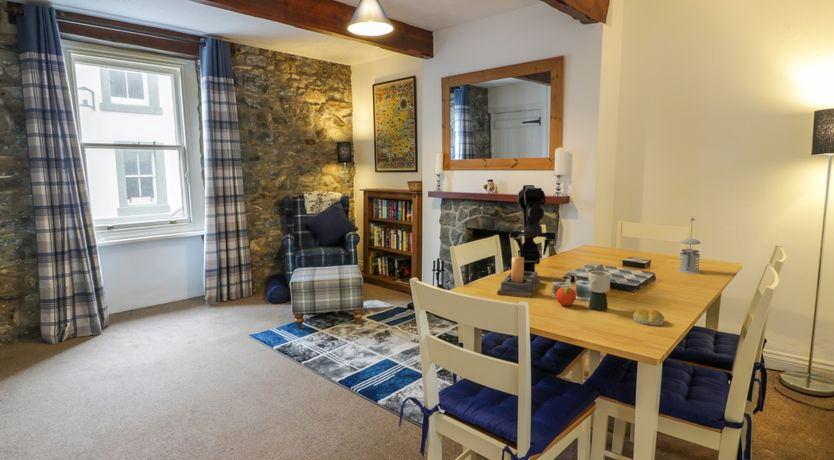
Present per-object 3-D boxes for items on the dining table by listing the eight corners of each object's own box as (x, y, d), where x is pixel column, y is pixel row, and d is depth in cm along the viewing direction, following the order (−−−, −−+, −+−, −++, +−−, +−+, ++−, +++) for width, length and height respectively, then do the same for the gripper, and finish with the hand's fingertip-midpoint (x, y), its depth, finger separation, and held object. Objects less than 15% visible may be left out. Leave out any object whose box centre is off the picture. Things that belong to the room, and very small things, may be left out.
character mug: (595, 303, 170) (596, 268, 168) (614, 307, 165) (616, 271, 163) (581, 310, 163) (582, 274, 161) (601, 314, 158) (602, 277, 156)
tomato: (575, 309, 163) (576, 290, 162) (555, 308, 166) (555, 288, 165) (576, 303, 171) (576, 284, 170) (556, 301, 173) (556, 283, 172)
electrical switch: (601, 290, 187) (599, 268, 186) (588, 290, 190) (586, 267, 189) (608, 285, 194) (607, 264, 193) (595, 285, 197) (594, 263, 196)
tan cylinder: (515, 285, 191) (515, 256, 189) (525, 288, 187) (526, 257, 186) (508, 288, 187) (509, 257, 185) (519, 290, 184) (519, 259, 182)
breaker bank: (510, 279, 207) (510, 267, 206) (540, 282, 202) (540, 269, 201) (497, 294, 184) (497, 281, 183) (530, 297, 179) (530, 283, 178)
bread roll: (634, 316, 156) (635, 304, 156) (664, 320, 151) (665, 308, 151) (630, 323, 149) (631, 311, 149) (662, 328, 144) (662, 316, 144)
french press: (701, 270, 217) (705, 217, 214) (700, 275, 208) (704, 219, 204) (677, 267, 223) (680, 216, 219) (675, 272, 213) (678, 218, 210)
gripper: (507, 219, 190) (506, 256, 193) (554, 220, 183) (553, 259, 185) (512, 216, 201) (512, 252, 203) (557, 217, 193) (556, 254, 196)
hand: (532, 254), depth 196 cm, fingers open, 9 cm apart
